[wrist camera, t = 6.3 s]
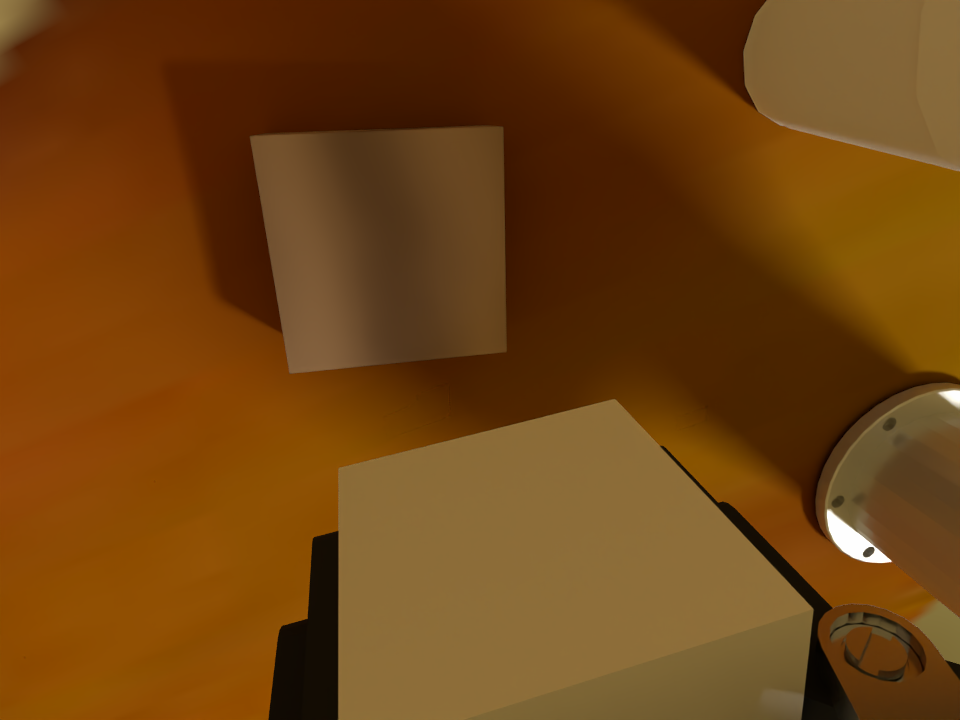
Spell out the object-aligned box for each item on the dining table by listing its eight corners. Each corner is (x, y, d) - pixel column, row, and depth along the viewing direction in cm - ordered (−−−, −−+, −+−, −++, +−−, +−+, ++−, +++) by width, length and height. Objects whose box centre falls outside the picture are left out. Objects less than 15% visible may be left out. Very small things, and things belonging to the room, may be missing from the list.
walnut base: (482, 125, 26) (503, 126, 22) (488, 322, 29) (506, 352, 26) (266, 133, 24) (249, 135, 21) (298, 339, 28) (289, 373, 24)
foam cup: (885, -116, 25) (1367, -328, 13) (914, 101, 29) (1306, 92, 17) (683, -6, 25) (979, -116, 13) (739, 196, 29) (1007, 252, 17)
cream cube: (614, 398, 11) (813, 608, 6) (628, 600, 13) (784, 867, 8) (338, 468, 10) (338, 759, 6) (400, 668, 12) (435, 999, 8)
